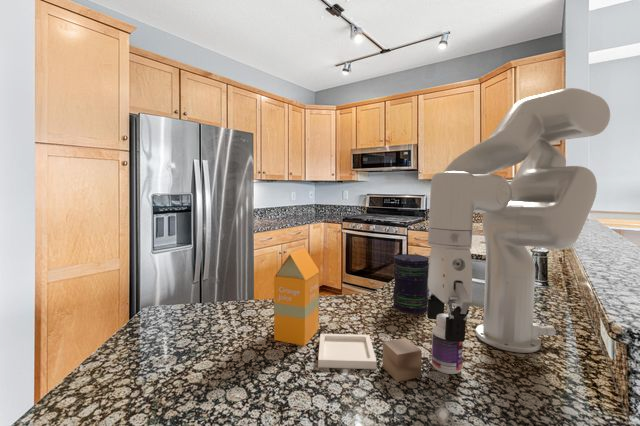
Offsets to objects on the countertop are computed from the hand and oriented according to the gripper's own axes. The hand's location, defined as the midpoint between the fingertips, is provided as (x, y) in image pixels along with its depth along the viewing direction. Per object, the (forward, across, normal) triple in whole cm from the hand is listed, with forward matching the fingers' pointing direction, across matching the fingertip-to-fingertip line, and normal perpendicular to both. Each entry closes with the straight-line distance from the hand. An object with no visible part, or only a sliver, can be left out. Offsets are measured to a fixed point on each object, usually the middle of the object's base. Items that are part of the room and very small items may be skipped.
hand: (444, 328), depth 57 cm
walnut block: (+8, -1, +8) cm, 11 cm away
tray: (+8, +5, +18) cm, 20 cm away
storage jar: (+7, +32, -2) cm, 33 cm away
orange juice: (+9, +13, +29) cm, 33 cm away
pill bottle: (+8, +1, -1) cm, 8 cm away
